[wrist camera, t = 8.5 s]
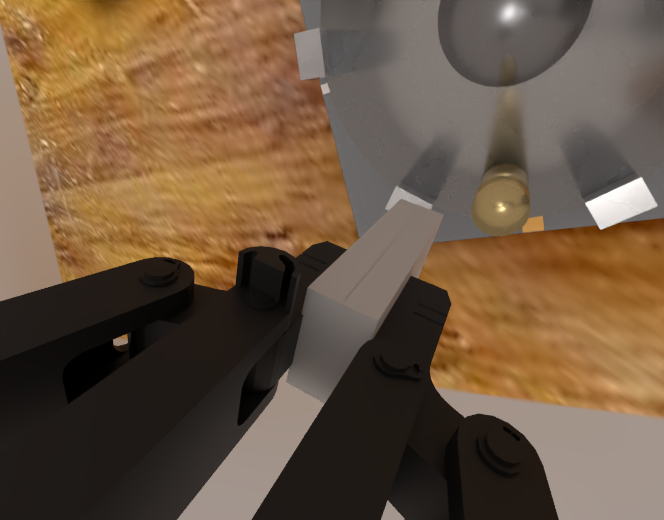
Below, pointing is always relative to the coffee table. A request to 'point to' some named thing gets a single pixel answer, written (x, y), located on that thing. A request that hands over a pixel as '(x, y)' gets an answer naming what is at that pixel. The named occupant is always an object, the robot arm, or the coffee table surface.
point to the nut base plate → (375, 192)
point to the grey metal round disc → (499, 102)
